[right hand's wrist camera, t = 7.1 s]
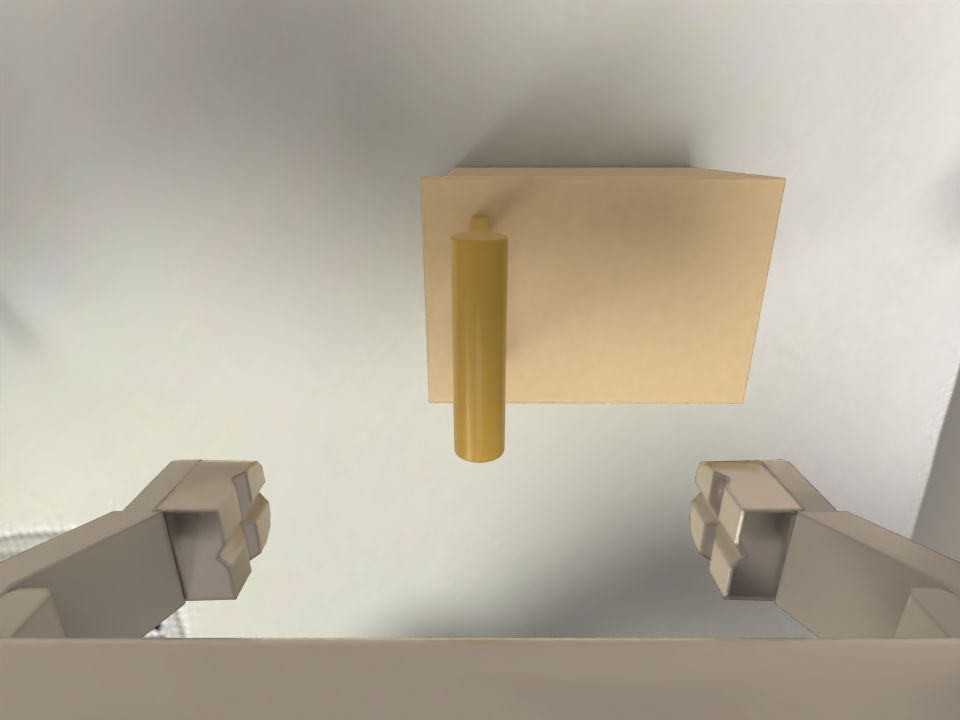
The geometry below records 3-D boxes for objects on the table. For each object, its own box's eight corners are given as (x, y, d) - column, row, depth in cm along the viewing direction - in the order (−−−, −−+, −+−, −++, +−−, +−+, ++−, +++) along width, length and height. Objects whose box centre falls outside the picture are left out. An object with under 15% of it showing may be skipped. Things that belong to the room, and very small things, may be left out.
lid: (431, 392, 26) (410, 496, 18) (423, 175, 23) (393, 193, 15) (731, 392, 26) (836, 497, 18) (771, 176, 23) (921, 193, 15)
